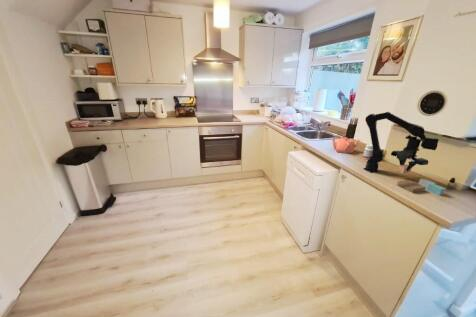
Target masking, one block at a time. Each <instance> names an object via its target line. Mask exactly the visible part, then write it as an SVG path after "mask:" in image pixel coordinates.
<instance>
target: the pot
mask: <svg viewBox="0 0 476 317" xmlns="http://www.w3.org/2000/svg"><path fill="white" fill-rule="evenodd" d="M330 139H331V141H332V146H333V149H334V150H336V152H337V153H343V154H352V153H353V152H354V150H355V149H356V147H357V145H358V142H360V141H361V139H356V140H355V142H354V140H353V139H351V138H348V137H344V136H343V135H341V136H340V137H339V138H336V139H335V138H333V137H330ZM335 140H336V141H335Z"/></svg>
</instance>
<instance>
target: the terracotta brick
mask: <svg viewBox="0 0 476 317" xmlns="http://www.w3.org/2000/svg"><path fill="white" fill-rule="evenodd" d="M408 165H409V164H404V165H400V164H399V165H398V168H397V172H398V173H401V174H409V173H411V170H412V168H411V169H410V170H409V171H407V168H408Z"/></svg>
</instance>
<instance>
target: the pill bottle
mask: <svg viewBox="0 0 476 317" xmlns="http://www.w3.org/2000/svg"><path fill="white" fill-rule="evenodd" d="M365 146H366V147H365V148H364V151H363V154H362V159H364V160H367V161H368V159H369V157H371V156H372V154H373V146H372V144H370V143H369V144H366V145H365Z"/></svg>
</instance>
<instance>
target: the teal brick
mask: <svg viewBox="0 0 476 317" xmlns="http://www.w3.org/2000/svg"><path fill="white" fill-rule="evenodd" d="M446 190H447V188H445V187H443V186H441V185H438V184H437V183H436V184H429V186H428V188H427V189H426V191H427V192H430V193H432V194H435V195H437V196H443V195H444V194H445V192H446Z"/></svg>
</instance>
